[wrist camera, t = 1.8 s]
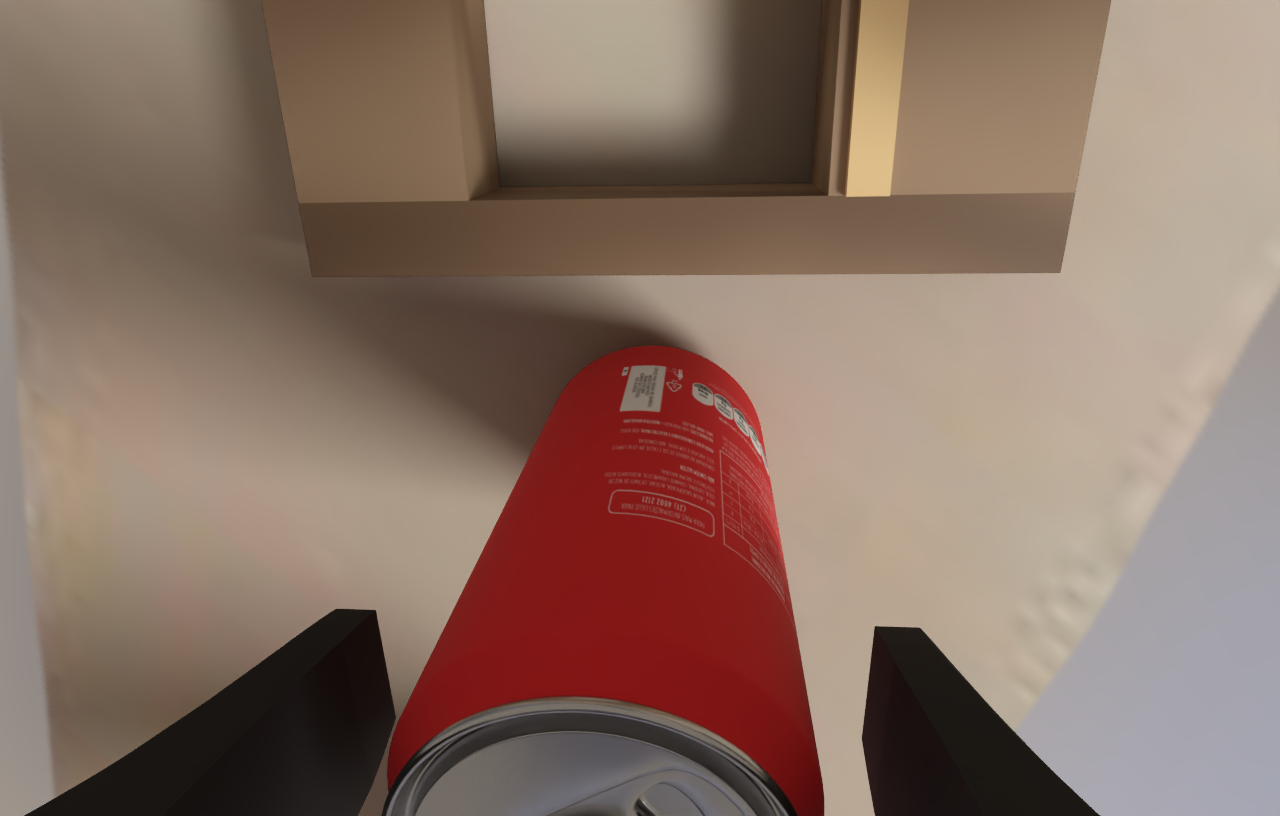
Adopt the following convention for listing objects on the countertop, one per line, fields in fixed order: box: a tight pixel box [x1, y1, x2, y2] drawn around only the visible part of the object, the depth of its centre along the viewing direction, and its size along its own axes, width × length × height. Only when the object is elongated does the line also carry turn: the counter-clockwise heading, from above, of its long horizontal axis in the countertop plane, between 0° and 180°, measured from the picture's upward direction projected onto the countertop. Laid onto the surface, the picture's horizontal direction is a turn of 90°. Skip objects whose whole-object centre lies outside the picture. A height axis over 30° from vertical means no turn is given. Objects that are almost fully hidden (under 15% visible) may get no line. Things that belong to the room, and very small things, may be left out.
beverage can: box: [382, 346, 824, 816], centre depth 14 cm, size 5×5×12 cm
